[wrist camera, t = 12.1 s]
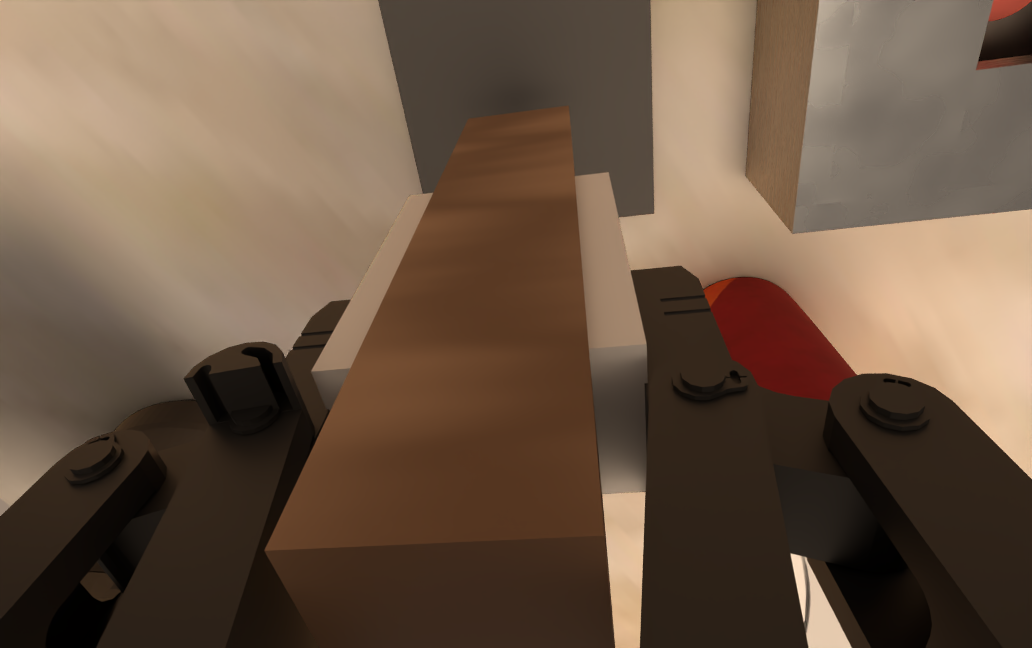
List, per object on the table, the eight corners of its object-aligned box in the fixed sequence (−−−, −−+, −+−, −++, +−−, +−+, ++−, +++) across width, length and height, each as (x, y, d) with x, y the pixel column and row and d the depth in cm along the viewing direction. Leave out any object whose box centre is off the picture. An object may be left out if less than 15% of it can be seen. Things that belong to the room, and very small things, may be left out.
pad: (435, 232, 28) (433, 237, 28) (380, -10, 23) (376, -8, 22) (652, 208, 27) (653, 213, 26) (647, -52, 22) (649, -52, 21)
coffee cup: (628, 294, 29) (685, 561, 17) (799, 227, 27) (1014, 478, 15) (682, 412, 33) (762, 701, 21) (837, 362, 31) (1032, 654, 18)
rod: (484, 212, 20) (357, 715, 7) (468, 118, 18) (263, 550, 5) (577, 202, 19) (620, 713, 7) (568, 105, 18) (604, 535, 5)
